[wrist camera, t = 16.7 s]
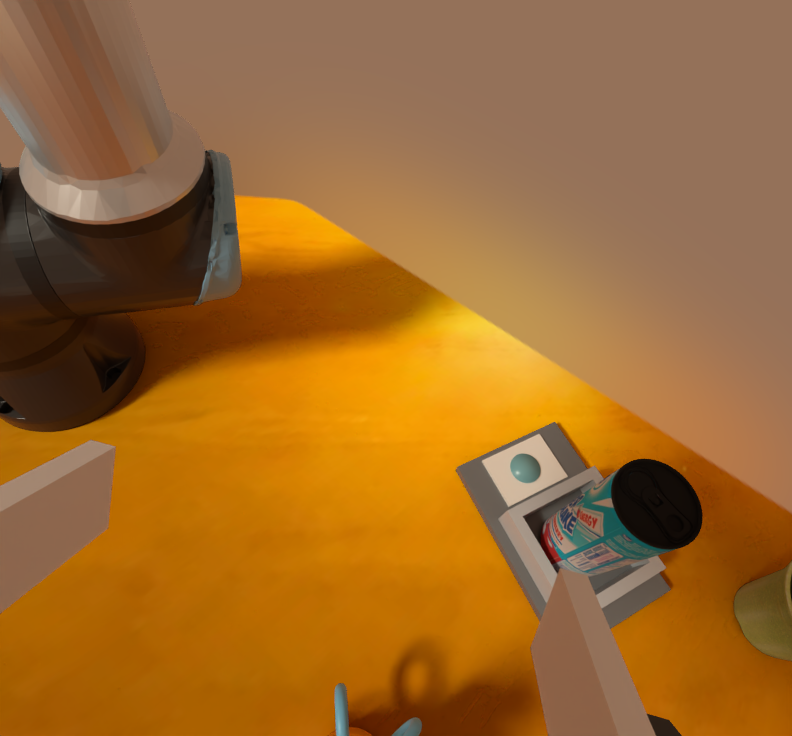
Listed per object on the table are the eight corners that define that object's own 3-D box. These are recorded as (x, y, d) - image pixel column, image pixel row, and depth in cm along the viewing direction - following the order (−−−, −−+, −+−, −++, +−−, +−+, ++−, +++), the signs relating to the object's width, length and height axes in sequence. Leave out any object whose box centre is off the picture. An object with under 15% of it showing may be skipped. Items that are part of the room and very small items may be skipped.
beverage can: (578, 504, 47) (665, 447, 34) (613, 566, 44) (721, 529, 31) (525, 526, 45) (595, 474, 32) (558, 590, 42) (648, 563, 30)
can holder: (455, 470, 48) (463, 456, 45) (551, 425, 52) (565, 409, 48) (560, 658, 41) (579, 658, 37) (664, 590, 44) (691, 585, 41)
